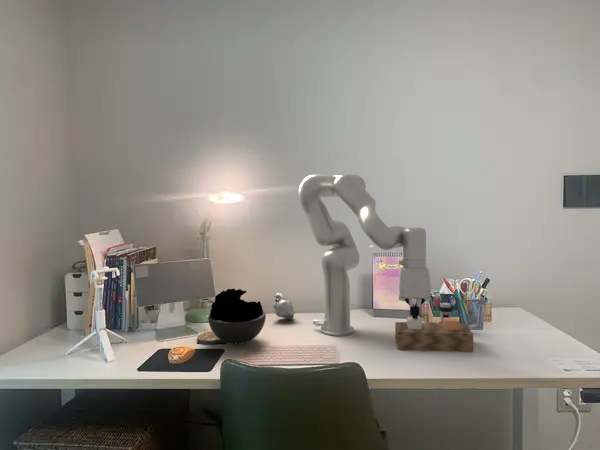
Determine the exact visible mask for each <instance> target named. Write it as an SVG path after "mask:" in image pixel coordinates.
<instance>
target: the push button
mask: <svg viewBox="0 0 600 450" xmlns="http://www.w3.org/2000/svg"><path fill="white" fill-rule="evenodd" d="M438 308H439V310H438V311H440V320H439V322H438V323H443V318H452V317H451V316H452V315H451V314H452V313H451V312H453V309H454V306H453V305H452V304H451V303H450V302H441V303H440V305H438Z"/></svg>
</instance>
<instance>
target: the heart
mask: <svg viewBox="0 0 600 450" xmlns="http://www.w3.org/2000/svg"><path fill="white" fill-rule="evenodd" d="M273 297H274V298H275V300H274V301H275V302H273V303H272V305H271V307H272V308H273V311H274V314H275V315H276V316H277V317H279V318H283V319H286V320H290V321H292V320H293V319H294V316H295V310H294V306H293V303H292V300H290V299H288V297H286V296H284V295H283V293H281V292H280V293H275V294H274V296H273Z"/></svg>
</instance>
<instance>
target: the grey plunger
mask: <svg viewBox="0 0 600 450" xmlns="http://www.w3.org/2000/svg"><path fill="white" fill-rule="evenodd" d="M406 317H407V318H406V322H407V329H419V330H422V323H423V319H422V318H421V317H420V316H418V319H416V318H414V319H413V318H412V316H406Z"/></svg>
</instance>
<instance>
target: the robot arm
mask: <svg viewBox="0 0 600 450" xmlns="http://www.w3.org/2000/svg"><path fill="white" fill-rule="evenodd" d="M366 186H367V185H366V182H365V180H364V178H363V177H361V176H360V175H357V174H351V173H350V174H349V173H348V174H347V173H344V174H339V175H337V174H310V175H308V176H306V177H305V178H304V179H303V180H302V182H301V183H300V185H299V187H298V195H297V196H298V200H299V204H300V206H301V208H302V210H303V212H304V214H305V216H306V219H307V222H308V224H309V227H310V230H311V232H312V235H313V236H314V239H315V241H316V243H317V244H318V245H320V247H321V246H322V247H332V248H329V249H328V250H327V251H325V252H324V254H323V255H322V258H321V268H322V269H321V270H322V273H323V284H324V285H323V289H324V290H323V291H324V318H322V319H313V320H312V323H313V324H312V325H314V326H315V327H319V326H320V332H321V333H322V334H324V335H328V336H338V337H340V336H348V335H352V334H353V333H354V332H355V327H354V326H352V325H351V290H350V289H351V287H350V285H351V284H350V279H349V274H348V271H350V270H353V269H355V268H356V267H357V266H358V265H359V263H360V252H359V250H358V248H357V245H356V243H355V240H354V238H353V236H352V233H351V231H350V229H349V227H348V225H347V224H346V223H345V222H343V221H340V220H337V219H336V220H335V219H332V217H331V214H330V212H329V210H328V208H327V206H326V205H325V204H324V202H323V201H322V199H321V198H331V197H332V198H333V197H335V198H336V197H337V198H338V197H339V198H340V199H341V200H342V201H343V203H345V205H347V207H348V208H349V209H350V210H351V211H352V212H353V214H354V215H355V216H356V217H357V219H358V222H359V224H360V226H361V228H362V230H363V232H364V234H366V236H367V237H368V238H369V239H370V241H372V243H374V245H375V246H377V248H379V249H381V250H384V251H385V250H386V251H389V250H393V249H398V248H403V249H402V260H398V265H400V266H402V267H401V268H400V273H399V286H398V287H399V289H398V290H399V291H398V292H399V295H398V300H399V301H401V302H405V303H406V304H407V305H409V316H411V317H412V318H413V319H414V318H416V319H418V317H420V307H421V306H422V304H424V303H426V302H430V301H431V300H432V297H431V296H432V295H431V293H432V290H431V288H432V287H431V276H430V270H429V268H428V267H427V232H426V229H425V228H423V227H406V226H400V225H399V226H397V225H394V226H387V224H385V222H384V221H383V219H381V218H380V217H379V215H378V214H377V211H376V205H377V202H376V199H375V198H374V197H373V196H372V195H371V194H370V193H369V192H368V191H367V190H366V189H367V188H366ZM413 299H416V300H415V301H416V302H415V303H414V301H413ZM414 304H415V305H414Z"/></svg>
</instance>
